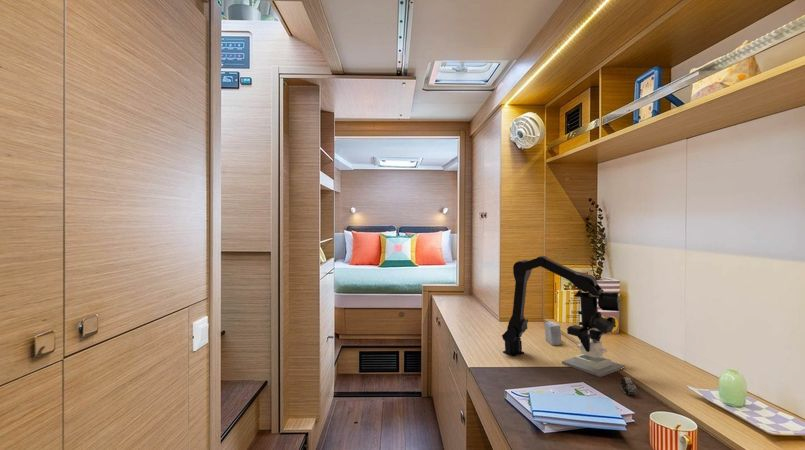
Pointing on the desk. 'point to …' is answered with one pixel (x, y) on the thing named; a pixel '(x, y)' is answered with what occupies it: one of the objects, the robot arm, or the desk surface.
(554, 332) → the medicine box
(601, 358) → the plate
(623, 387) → the dark grey lumpy piece
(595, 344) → the servo block
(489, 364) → the desk surface
